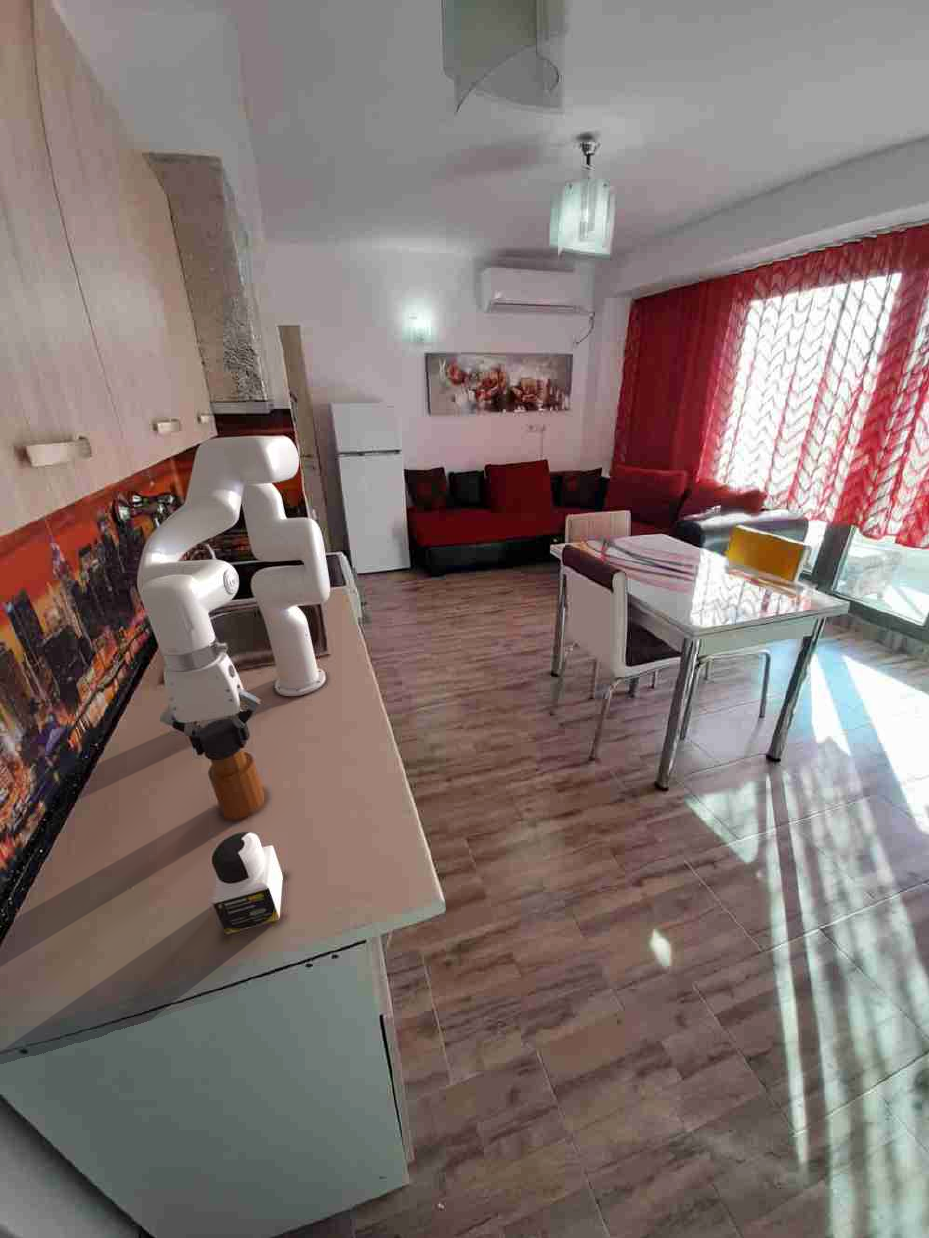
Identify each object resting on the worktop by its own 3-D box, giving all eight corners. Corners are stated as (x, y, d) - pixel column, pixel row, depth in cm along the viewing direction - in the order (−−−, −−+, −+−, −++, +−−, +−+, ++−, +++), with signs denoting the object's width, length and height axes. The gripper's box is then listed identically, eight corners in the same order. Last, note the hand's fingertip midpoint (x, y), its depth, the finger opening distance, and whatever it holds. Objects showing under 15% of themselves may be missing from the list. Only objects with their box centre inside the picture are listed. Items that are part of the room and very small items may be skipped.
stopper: (216, 755, 85) (204, 721, 81) (251, 749, 86) (240, 716, 82) (206, 779, 79) (193, 744, 76) (244, 772, 80) (232, 737, 77)
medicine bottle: (225, 935, 65) (200, 877, 60) (234, 889, 71) (211, 832, 66) (279, 920, 67) (259, 861, 61) (283, 876, 73) (265, 819, 68)
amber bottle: (227, 792, 89) (208, 738, 84) (267, 785, 90) (250, 731, 85) (217, 823, 83) (195, 766, 77) (260, 814, 84) (242, 758, 78)
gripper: (255, 636, 78) (279, 724, 86) (141, 651, 75) (177, 741, 83) (245, 657, 71) (272, 751, 79) (120, 675, 68) (161, 770, 76)
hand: (223, 745), depth 81 cm, fingers closed on stopper, 6 cm apart
